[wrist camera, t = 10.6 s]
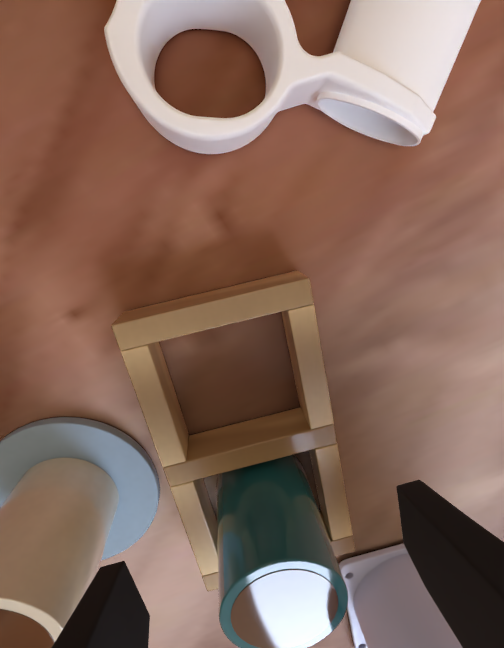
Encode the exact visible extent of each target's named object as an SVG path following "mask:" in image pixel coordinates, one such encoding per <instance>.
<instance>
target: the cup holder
mask: <svg viewBox="0 0 504 648" xmlns="http://www.w3.org/2000/svg"><path fill="white" fill-rule="evenodd" d="M313 303H314V302H313V296H312V290H311V284H310V279H309V278H308V277H307V276H305V275H304V274H302V273H301V272H299V271H293V272H289V273H284V274H280V275H276V276H272V277H268V278H264V279H259V280H255V281H251V282H247V283H243V284H238V285H234V286H230V287H226V288H222V289H217V290H213V291H209V292H205V293H201V294H196V295H192V296H188V297H184V298H180V299H175V300H171V301H167V302H163V303H159V304H155V305H150V306H146V307H142V308H138V309H134V310H129V311H125V312H123V313H122V314H121V315H120V316H119V318H118V319H117V320H116V321H115V322H114V323H113V324H112V325H111V327H112V329H113V332H114V335H115V338H116V341H117V343H118V346H119V349H120V350H121V354H122V357H123V360H124V363H125V365H126V368H127V371H128V374H129V376H130V379H131V382H132V385H133V387H134V390H135V393H136V396H137V398H138V401H139V404H140V407H141V409H142V412H143V415H144V418H145V420H146V423H147V426H148V429H149V431H150V434H151V437H152V440H153V442H154V445H155V448H156V451H157V453H158V456H159V459H160V462H161V464H162V467H163V469H164V472H165V475H166V478H167V481H168V483H169V486H170V489H171V492H172V494H173V497H174V500H175V503H176V505H177V508H178V511H179V514H180V516H181V519H182V522H183V525H184V528H185V530H186V533H187V536H188V539H189V541H190V544H191V547H192V550H193V552H194V555H195V558H196V561H197V563H198V566H199V569H200V572H201V574H202V578H203V581H204V583H205V586H206V589H207V591H212V590H215V589H218V546H217V520H216V517H215V514H214V511H213V508H212V505H211V502H210V499H209V496H208V492H207V489H206V486H205V483H204V480H203V478H205V477H209V476H213V475H216V474H220V473H224V472H228V471H232V470H236V469H240V468H243V467H247V466H251V465H255V464H259V463H263V462H267V461H270V460H274V459H278V458H282V457H286V456H290V455H293V454H297V453H301V452H305V451H309V453H310V458H311V463H312V468H313V473H314V478H315V483H316V488H317V493H318V498H319V503H320V508H321V511H319V512H320V515H321V518H322V520H323V523H324V526H325V529H326V531H327V534H328V537H329V540H330V542H331V545H332V548H333V551H334V553H335V556H340V555H344V554H347V553H351V552H355V545H354V539H353V535H352V534H353V533H352V528H351V522H350V516H349V510H348V504H347V498H346V492H345V486H344V480H343V474H342V468H341V462H340V456H339V450H338V444H337V439H336V433H335V427H334V420H333V414H332V408H331V402H330V396H329V390H328V384H327V378H326V372H325V366H324V361H323V355H322V349H321V343H320V337H319V331H318V325H317V319H316V313H315V307H314V304H313ZM278 312H281V313H282V318H283V323H284V328H285V333H286V338H287V343H288V348H289V353H290V358H291V363H292V368H293V373H294V378H295V383H296V388H297V393H298V398H299V403H300V408H296V409H292V410H288V411H284V412H280V413H276V414H272V415H268V416H264V417H261V418H257V419H253V420H249V421H245V422H241V423H237V424H233V425H229V426H225V427H221V428H217V429H213V430H209V431H206V432H202V433H198V434H194V435H190V436H189V433H188V430H187V427H186V424H185V421H184V418H183V415H182V412H181V409H180V405H179V402H178V399H177V396H176V393H175V390H174V387H173V384H172V381H171V378H170V374H169V371H168V368H167V365H166V362H165V359H164V356H163V353H162V350H161V347H160V343H159V341H163V340H167V339H171V338H175V337H179V336H184V335H188V334H192V333H196V332H200V331H204V330H208V329H212V328H216V327H221V326H225V325H229V324H233V323H237V322H241V321H245V320H249V319H253V318H258V317H262V316H266V315H270V314H274V313H278Z"/></svg>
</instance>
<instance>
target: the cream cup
mask: <svg viewBox="0 0 504 648" xmlns="http://www.w3.org/2000/svg"><path fill="white" fill-rule="evenodd" d="M118 505H119V494H118V490H117V487H116V485H115V483H114V481H113V480H112V478H111V477H110V476H109V475H108V474H107V473H106V472H105V471H104V470H103V469H101V468H100V467H98V466H97V465H95V464H93V463H90V462H88V461H85V460H81V459H77V458H64V457H63V458H54V459H49V460H46V461H43V462H40V463H38V464H36V465H34V466H33V467H31V468H30V469H29V470H27V471H26V472H25V473H24V474H23V475H22V477H21V478H20V479H19V481H18V482H17V484H16V485H15V486H14V488H13V489H12V490H11V492H10V493H9V495H8V496H7V497H6V499H5V500H4V501H3V503H2V504H1V506H0V648H52V646H53V644H54V643H55V641H56V640H57V638H58V636H59V635H60V633H61V631H62V630H63V628H64V626H65V625H66V623H67V622H68V620H69V618H70V617H71V615H72V613H73V612H74V610H75V608H76V607H77V605H78V603H79V602H80V600H81V598H82V597H83V595H84V593H85V592H86V590H87V588H88V587H89V585H90V584H91V582H92V580H93V579H94V577H95V576H96V574H97V572H98V569H99V565H100V562H101V559H102V556H103V553H104V550H105V547H106V543H107V540H108V537H109V534H110V531H111V528H112V525H113V522H114V518H115V515H116V512H117V509H118Z"/></svg>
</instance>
